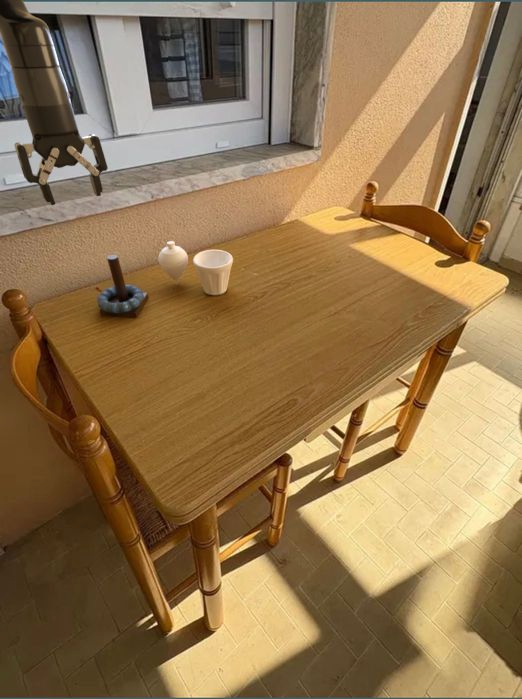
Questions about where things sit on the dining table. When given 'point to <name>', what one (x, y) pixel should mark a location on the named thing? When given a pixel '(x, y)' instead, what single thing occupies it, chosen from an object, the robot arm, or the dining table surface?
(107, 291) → the blue teething ring
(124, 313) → the stand
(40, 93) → the robot arm
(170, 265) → the spinning top
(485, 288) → the dining table surface
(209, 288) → the cup
